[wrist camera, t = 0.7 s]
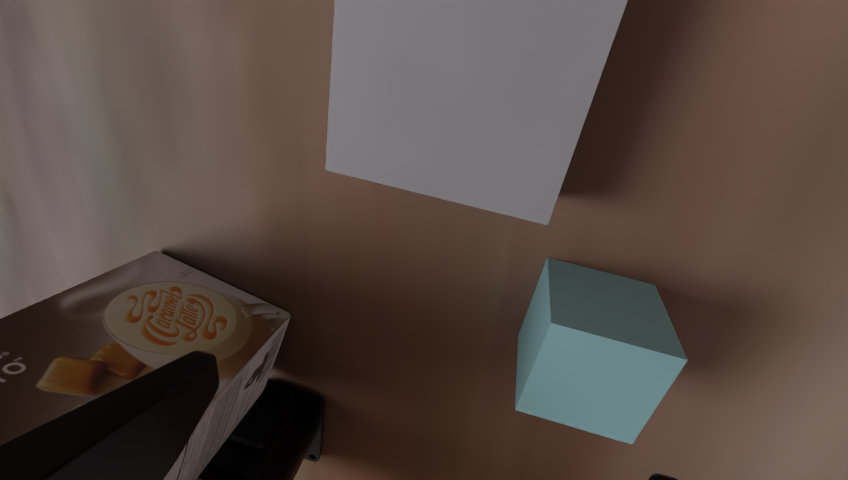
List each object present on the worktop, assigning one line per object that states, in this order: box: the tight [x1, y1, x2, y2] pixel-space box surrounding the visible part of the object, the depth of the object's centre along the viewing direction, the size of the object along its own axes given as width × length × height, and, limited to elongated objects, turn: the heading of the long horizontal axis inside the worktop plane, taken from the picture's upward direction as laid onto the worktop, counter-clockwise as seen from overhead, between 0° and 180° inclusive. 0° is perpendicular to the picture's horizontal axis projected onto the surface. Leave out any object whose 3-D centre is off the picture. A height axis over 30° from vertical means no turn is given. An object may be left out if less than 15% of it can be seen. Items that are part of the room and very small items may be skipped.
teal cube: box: [515, 257, 688, 444], centre depth 19 cm, size 5×5×5 cm
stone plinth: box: [325, 0, 628, 225], centre depth 16 cm, size 9×9×3 cm
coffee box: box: [0, 251, 291, 480], centre depth 19 cm, size 9×6×16 cm
